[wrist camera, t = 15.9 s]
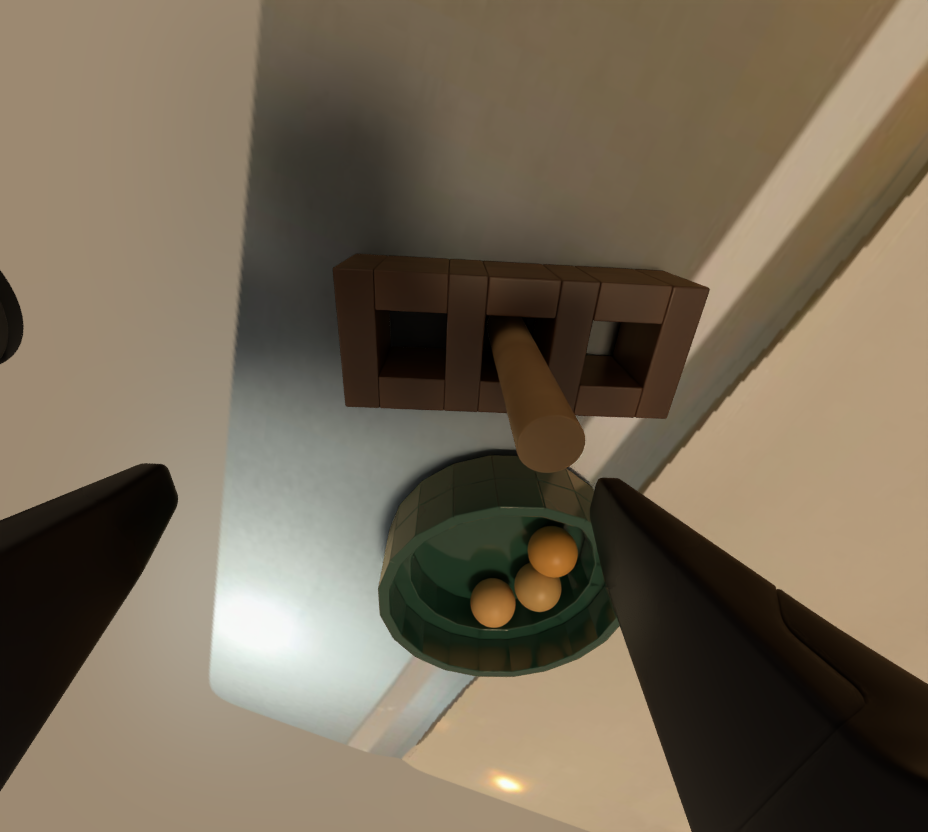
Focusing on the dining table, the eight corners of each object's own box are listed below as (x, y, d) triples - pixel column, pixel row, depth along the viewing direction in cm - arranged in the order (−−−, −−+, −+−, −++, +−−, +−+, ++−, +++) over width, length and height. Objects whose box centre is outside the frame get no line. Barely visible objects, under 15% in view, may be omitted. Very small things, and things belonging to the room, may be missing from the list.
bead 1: (471, 638, 27) (455, 591, 27) (500, 619, 29) (484, 576, 30) (503, 632, 25) (484, 582, 25) (531, 612, 27) (513, 567, 28)
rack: (363, 371, 21) (345, 407, 18) (355, 253, 18) (331, 267, 15) (633, 383, 22) (667, 419, 18) (664, 270, 19) (711, 288, 16)
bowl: (393, 606, 30) (383, 676, 26) (387, 445, 23) (372, 503, 19) (582, 609, 31) (603, 678, 27) (628, 453, 24) (667, 511, 20)
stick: (499, 349, 21) (539, 484, 11) (479, 321, 20) (502, 440, 10) (529, 328, 20) (598, 450, 11) (509, 299, 20) (563, 402, 10)
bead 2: (518, 551, 24) (544, 595, 24) (563, 527, 23) (590, 573, 23) (518, 532, 27) (542, 571, 27) (559, 511, 26) (583, 551, 26)
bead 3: (547, 593, 24) (577, 601, 26) (531, 548, 26) (560, 558, 28) (512, 616, 25) (543, 623, 27) (499, 571, 27) (529, 580, 29)
